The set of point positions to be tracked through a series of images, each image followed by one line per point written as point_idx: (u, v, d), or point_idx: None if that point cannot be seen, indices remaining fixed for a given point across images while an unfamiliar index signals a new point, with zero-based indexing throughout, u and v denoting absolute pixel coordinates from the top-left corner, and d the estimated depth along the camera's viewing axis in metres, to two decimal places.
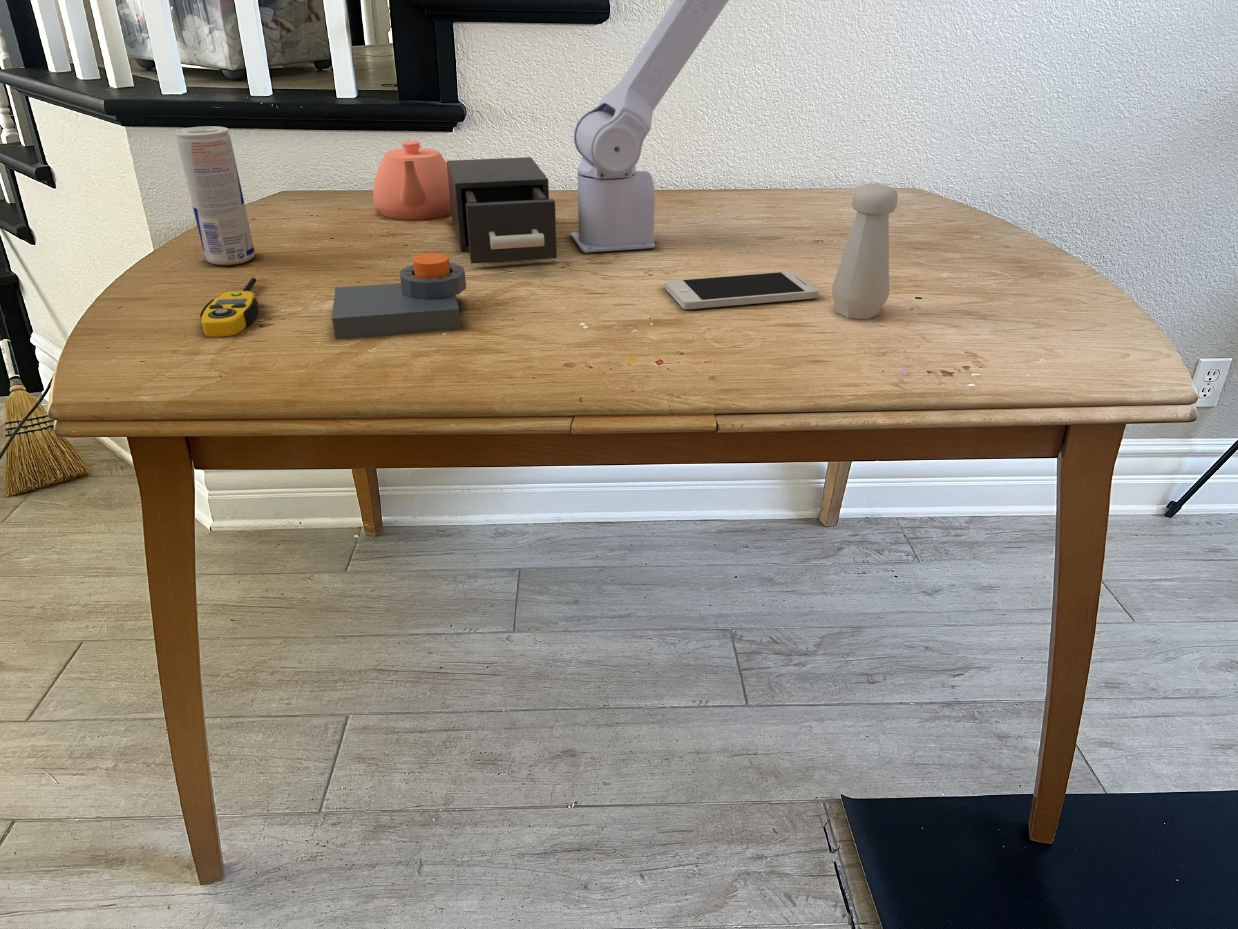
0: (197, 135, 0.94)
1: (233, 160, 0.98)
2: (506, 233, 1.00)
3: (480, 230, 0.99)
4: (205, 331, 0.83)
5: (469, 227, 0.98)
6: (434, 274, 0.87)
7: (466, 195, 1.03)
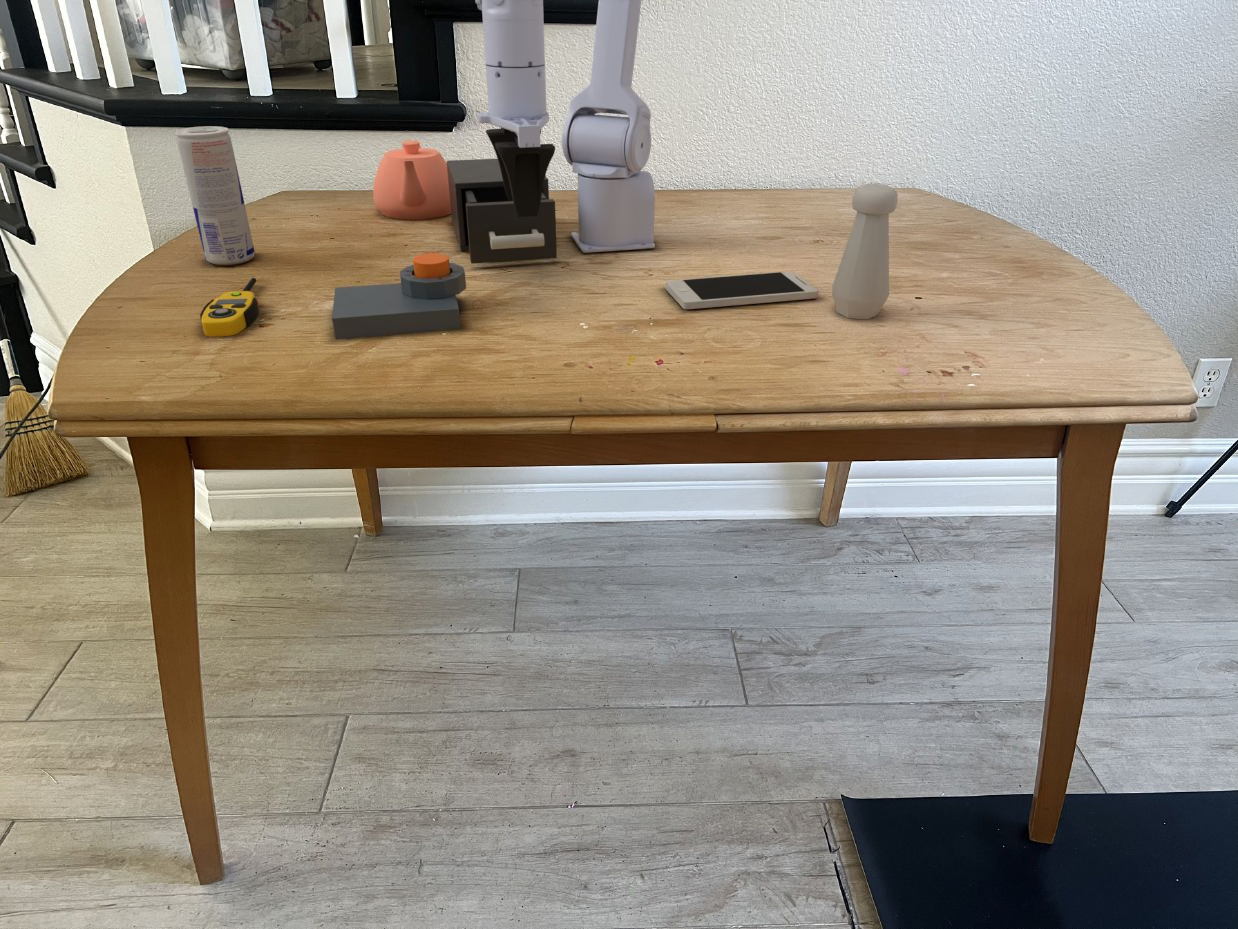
0: (197, 135, 0.94)
1: (233, 160, 0.98)
2: (506, 233, 1.00)
3: (480, 230, 0.99)
4: (205, 331, 0.83)
5: (469, 227, 0.98)
6: (434, 274, 0.87)
7: (466, 195, 1.03)
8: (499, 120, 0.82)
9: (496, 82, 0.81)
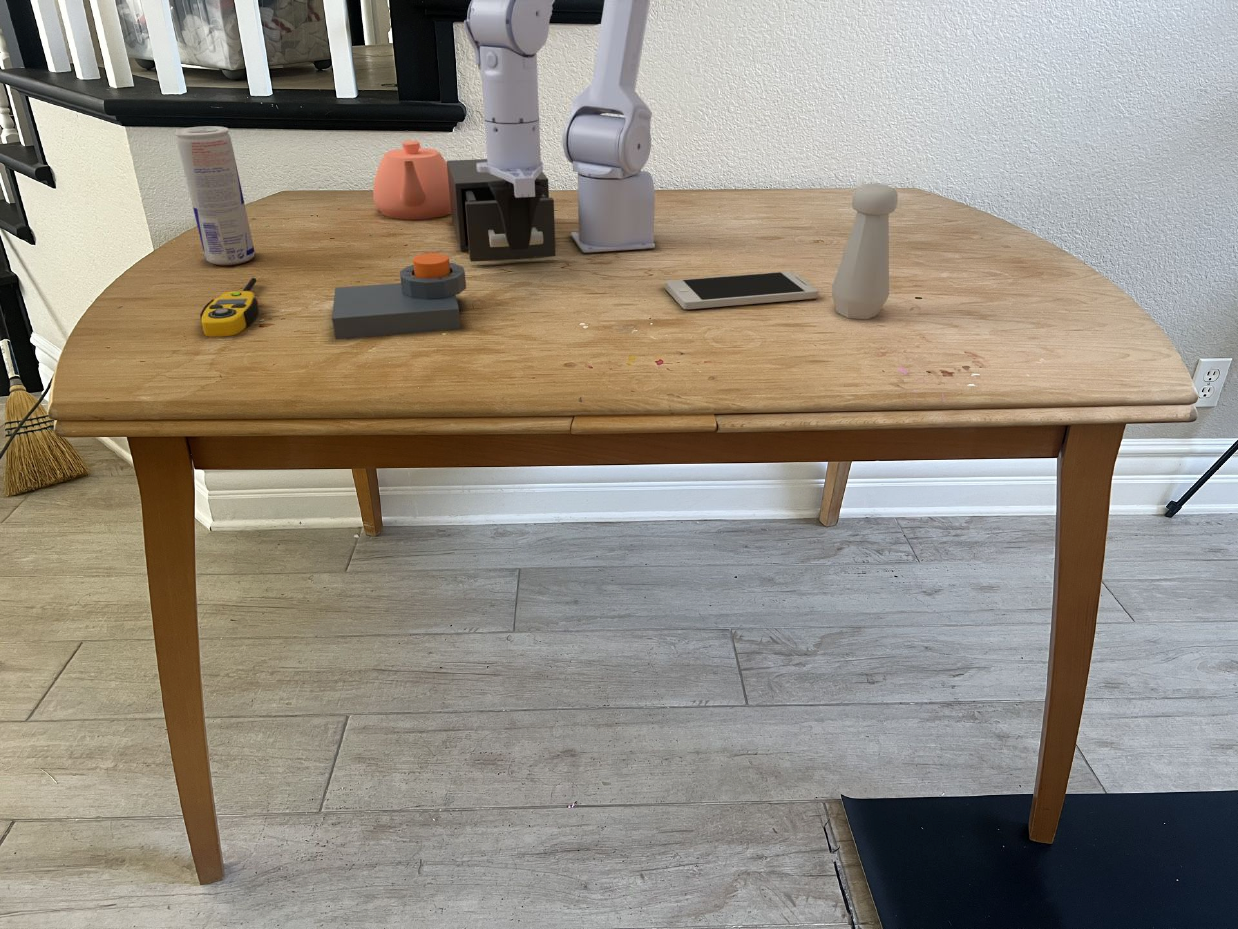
0: (197, 135, 0.94)
1: (233, 160, 0.98)
2: None
3: (480, 228, 0.99)
4: (205, 331, 0.83)
5: (468, 225, 0.99)
6: (434, 274, 0.87)
7: (465, 193, 1.04)
8: (497, 171, 0.89)
9: (494, 136, 0.88)
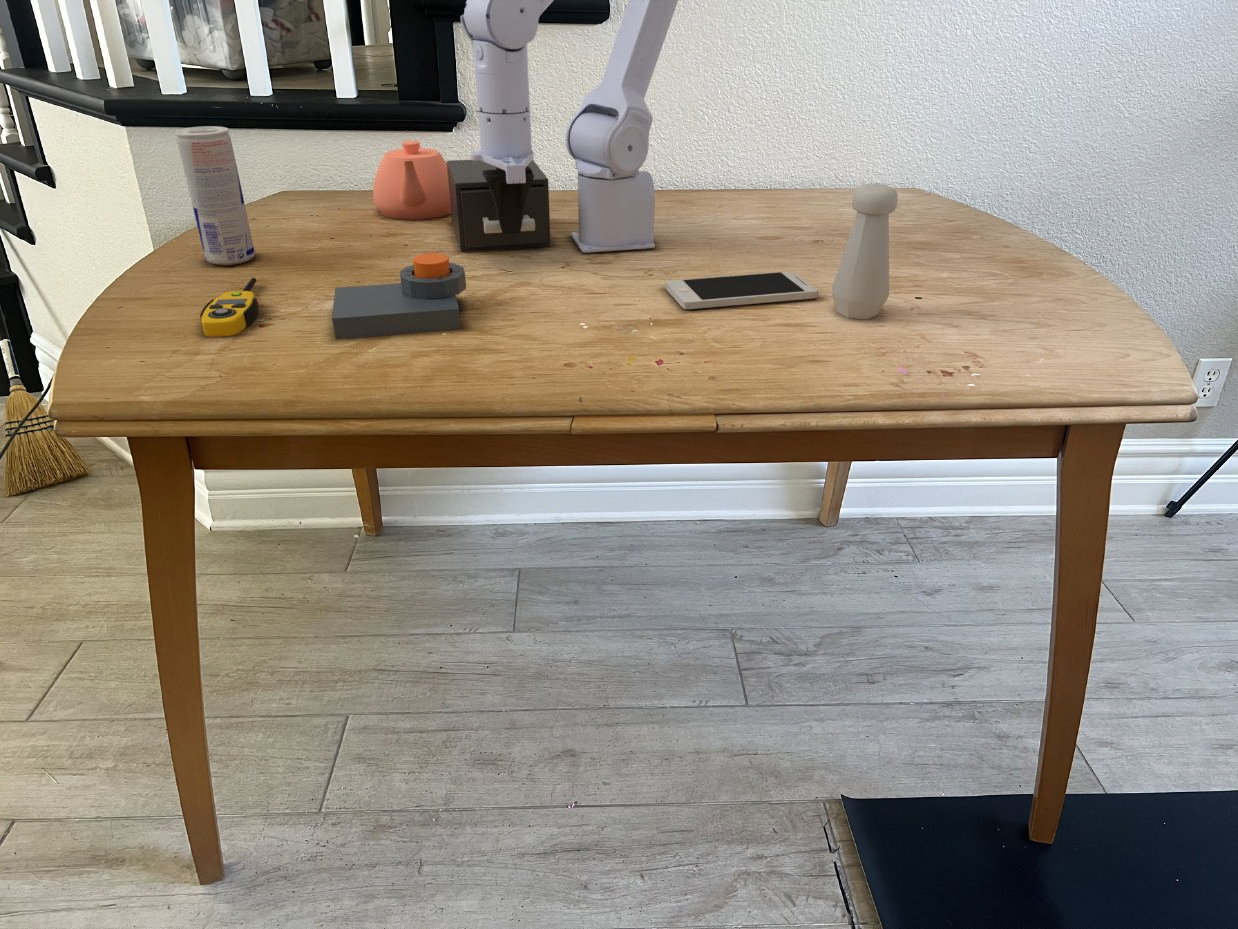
0: (197, 135, 0.94)
1: (233, 160, 0.98)
2: None
3: (475, 216, 1.04)
4: (205, 331, 0.83)
5: (464, 213, 1.04)
6: (434, 274, 0.87)
7: None
8: (490, 159, 0.94)
9: (487, 126, 0.93)
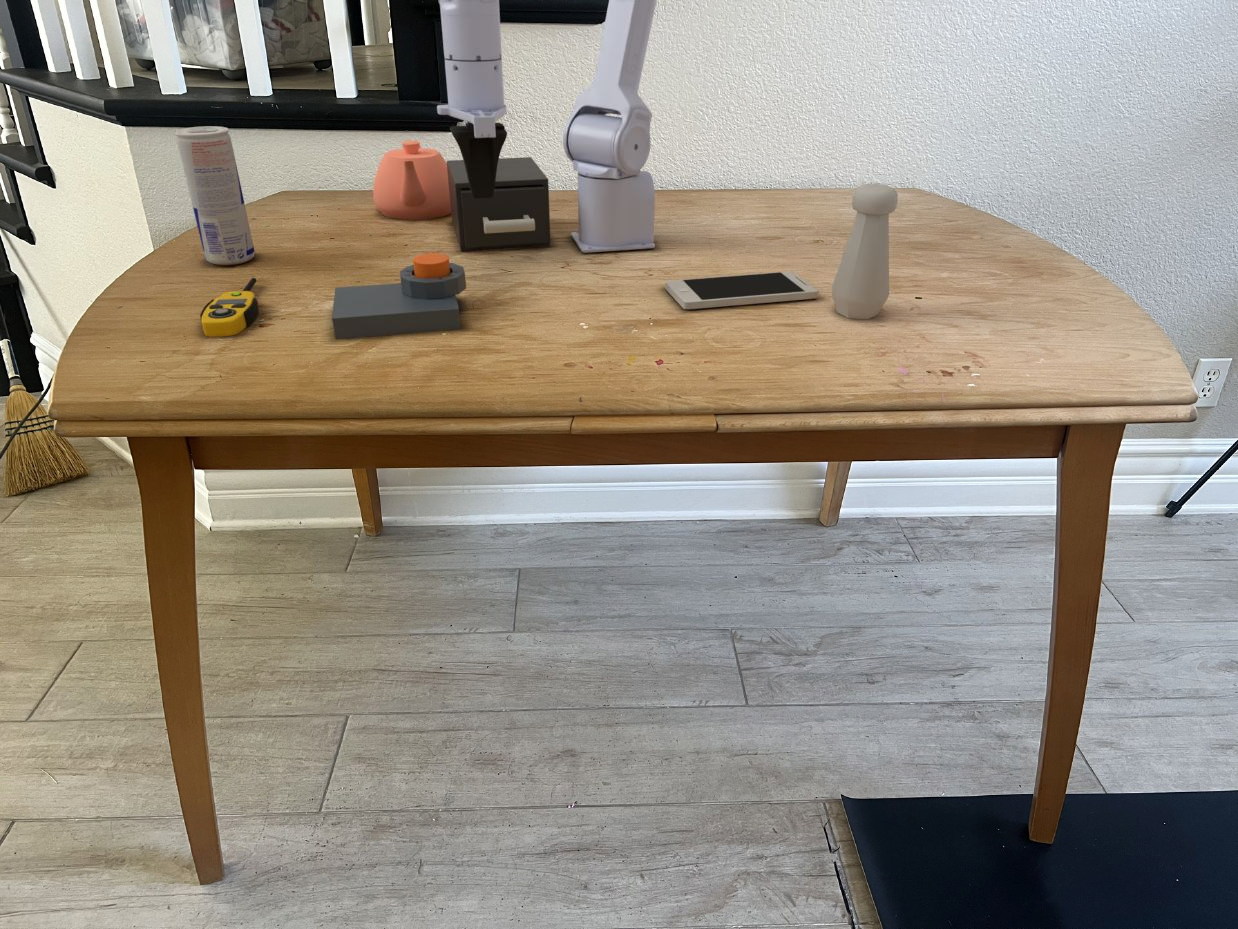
0: (197, 135, 0.94)
1: (233, 160, 0.98)
2: (498, 218, 1.05)
3: (475, 216, 1.04)
4: (205, 331, 0.83)
5: (464, 213, 1.04)
6: (434, 274, 0.87)
7: None
8: (457, 112, 0.85)
9: (454, 75, 0.84)
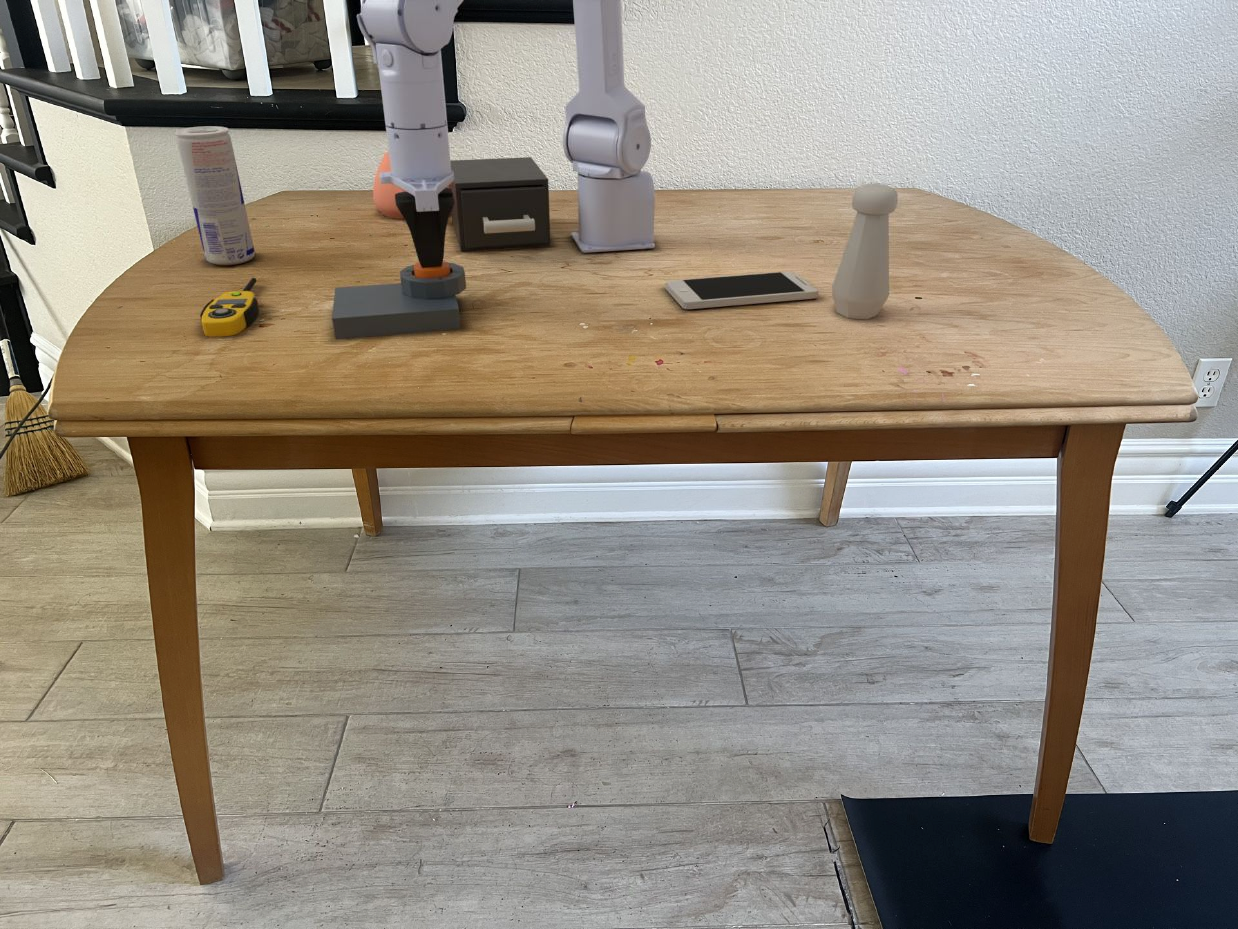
0: (197, 135, 0.94)
1: (233, 160, 0.98)
2: (498, 218, 1.05)
3: (475, 216, 1.04)
4: (205, 331, 0.83)
5: (464, 213, 1.04)
6: None
7: None
8: (399, 182, 0.80)
9: (395, 143, 0.79)
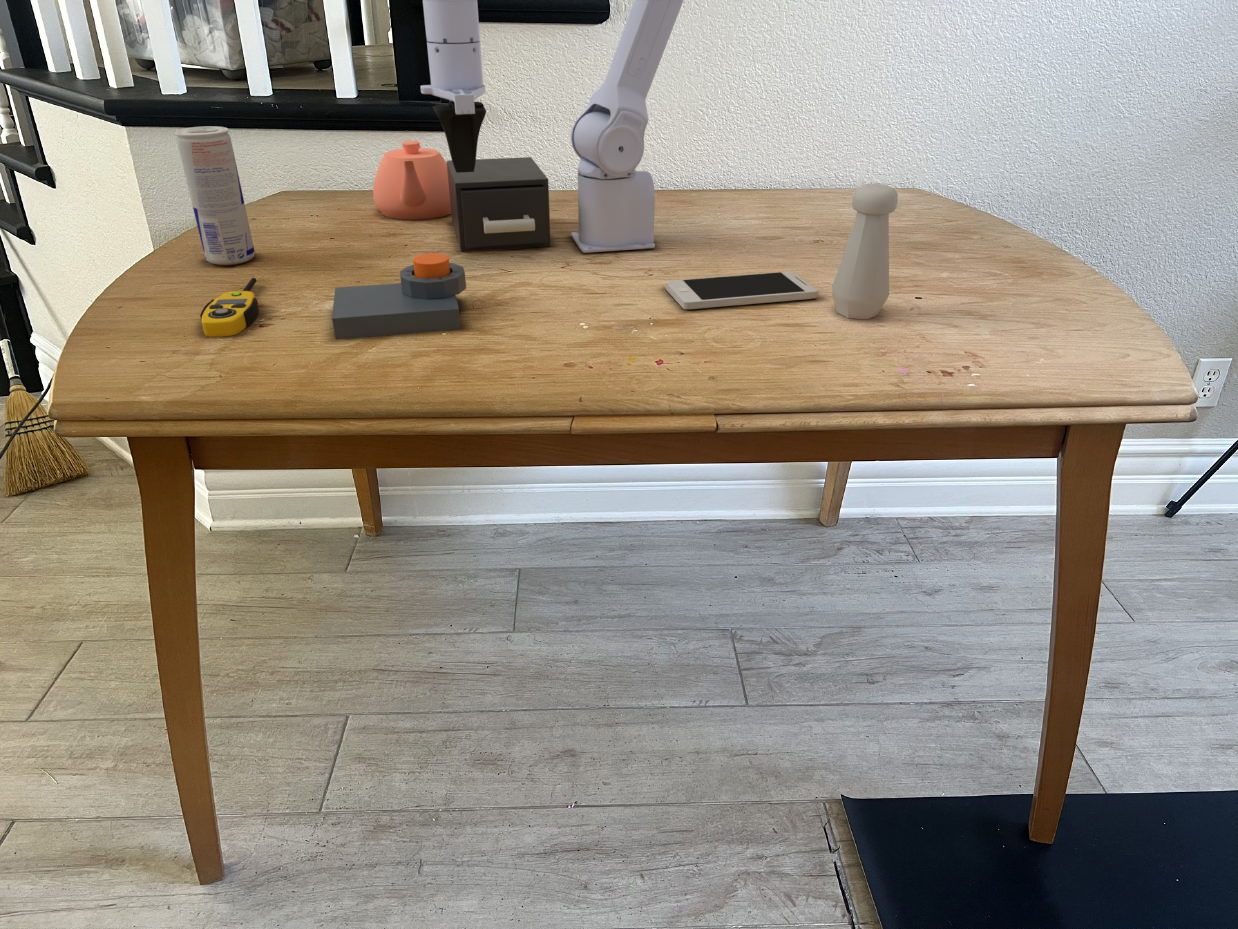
0: (197, 135, 0.94)
1: (233, 160, 0.98)
2: (498, 218, 1.05)
3: (475, 216, 1.04)
4: (205, 331, 0.83)
5: (464, 213, 1.04)
6: (434, 274, 0.87)
7: None
8: (439, 91, 0.92)
9: (436, 56, 0.91)
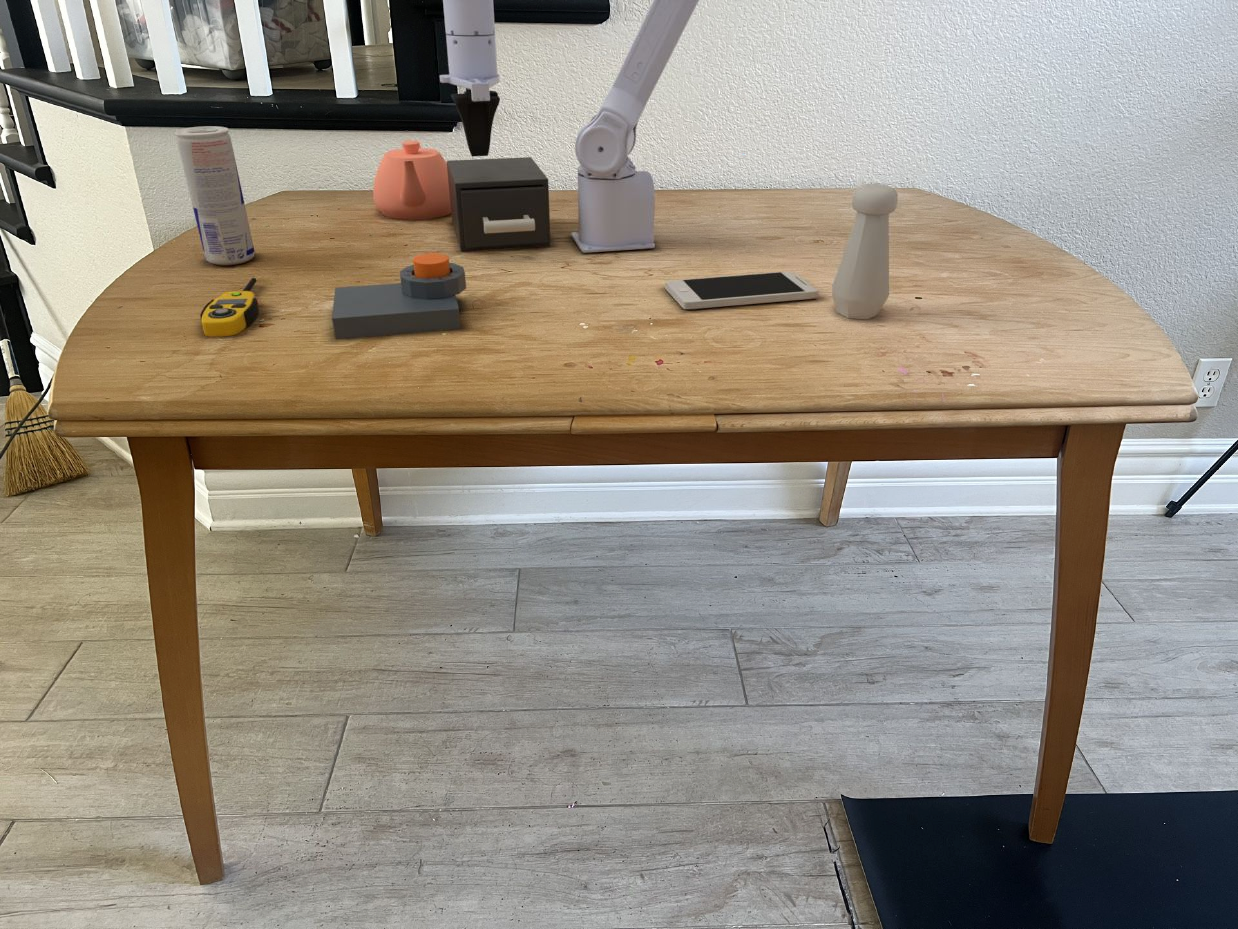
0: (197, 135, 0.94)
1: (233, 160, 0.98)
2: (498, 218, 1.05)
3: (475, 216, 1.04)
4: (205, 331, 0.83)
5: (464, 213, 1.04)
6: (434, 274, 0.87)
7: None
8: (457, 80, 1.00)
9: (454, 48, 0.99)
